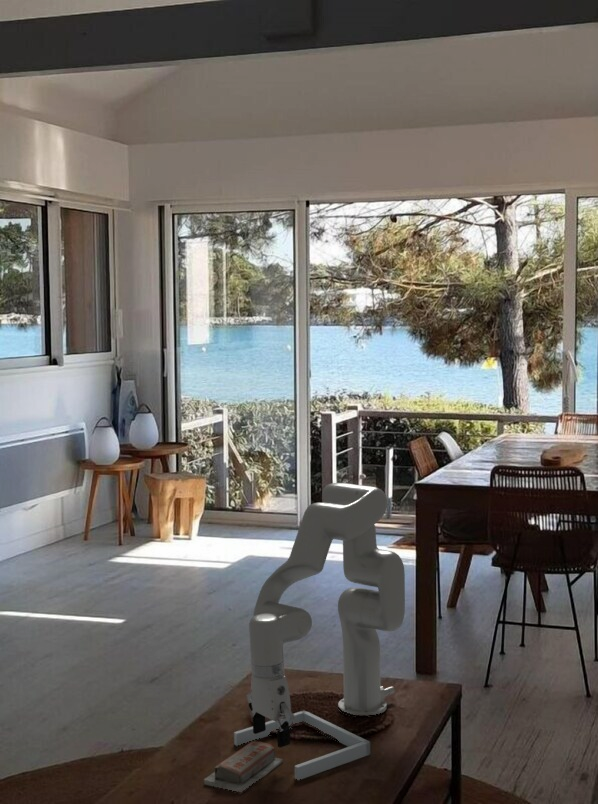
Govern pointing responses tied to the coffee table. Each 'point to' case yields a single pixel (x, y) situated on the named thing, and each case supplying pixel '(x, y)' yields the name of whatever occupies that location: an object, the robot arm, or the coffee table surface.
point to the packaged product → (244, 767)
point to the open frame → (352, 752)
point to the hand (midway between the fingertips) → (271, 738)
